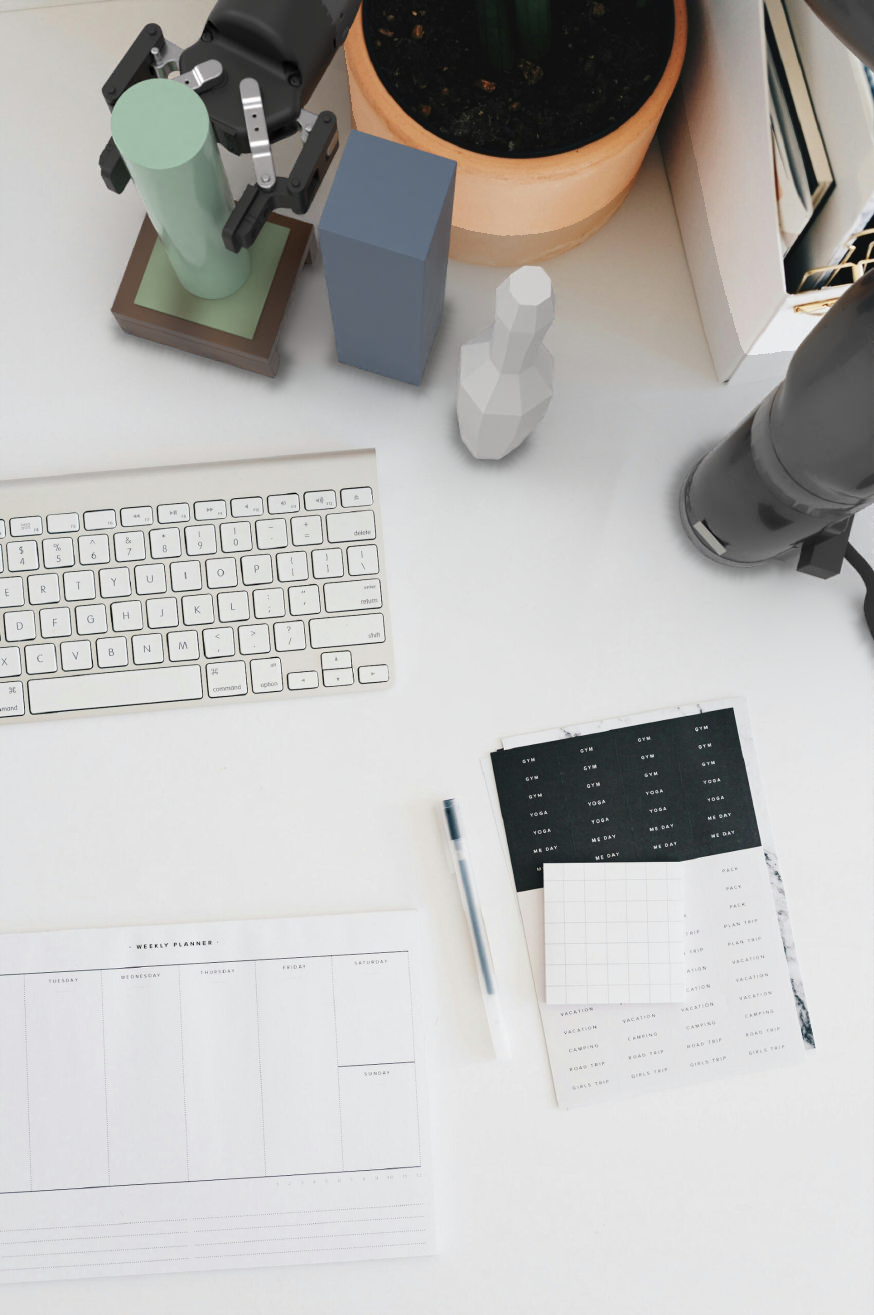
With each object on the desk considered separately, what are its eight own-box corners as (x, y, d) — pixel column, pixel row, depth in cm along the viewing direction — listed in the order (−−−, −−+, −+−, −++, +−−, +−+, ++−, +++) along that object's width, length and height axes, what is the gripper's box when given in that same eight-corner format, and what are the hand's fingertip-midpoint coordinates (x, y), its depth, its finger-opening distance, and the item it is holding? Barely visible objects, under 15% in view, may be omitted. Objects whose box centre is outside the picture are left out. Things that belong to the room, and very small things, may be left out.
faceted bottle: (541, 458, 71) (605, 324, 49) (462, 481, 70) (491, 356, 48) (517, 382, 71) (568, 215, 49) (438, 404, 71) (455, 246, 49)
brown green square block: (318, 249, 72) (313, 222, 68) (274, 378, 70) (267, 357, 67) (170, 203, 72) (158, 174, 68) (124, 332, 70) (109, 309, 67)
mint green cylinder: (262, 241, 68) (223, 95, 53) (236, 309, 67) (189, 181, 52) (190, 217, 68) (130, 64, 53) (163, 284, 67) (95, 149, 52)
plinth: (443, 309, 72) (457, 160, 54) (419, 386, 71) (425, 260, 53) (363, 285, 71) (351, 127, 54) (338, 361, 71) (317, 227, 53)
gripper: (178, -92, 56) (46, 124, 55) (385, 10, 56) (259, 231, 54) (204, 7, 64) (89, 200, 62) (387, 98, 64) (276, 294, 62)
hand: (169, 214), depth 58 cm, fingers open, 8 cm apart
